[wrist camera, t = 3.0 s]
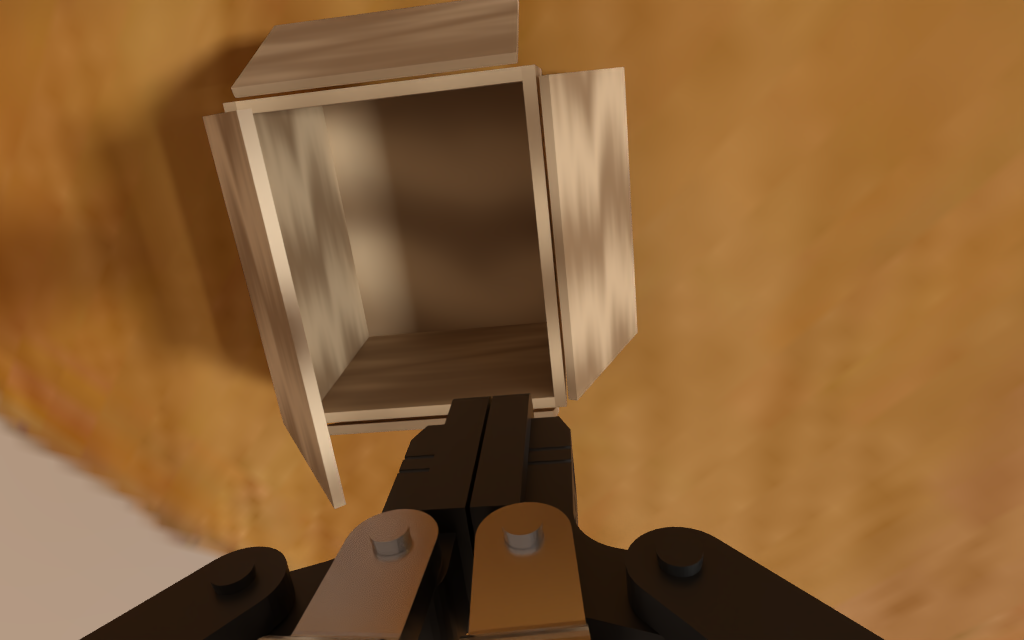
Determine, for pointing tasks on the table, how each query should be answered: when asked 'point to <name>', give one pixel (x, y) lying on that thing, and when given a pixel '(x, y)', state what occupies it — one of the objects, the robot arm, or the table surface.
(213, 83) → the table surface
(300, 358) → the front flap
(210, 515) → the table surface
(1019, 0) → the table surface
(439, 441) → the robot arm
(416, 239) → the carton
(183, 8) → the table surface
